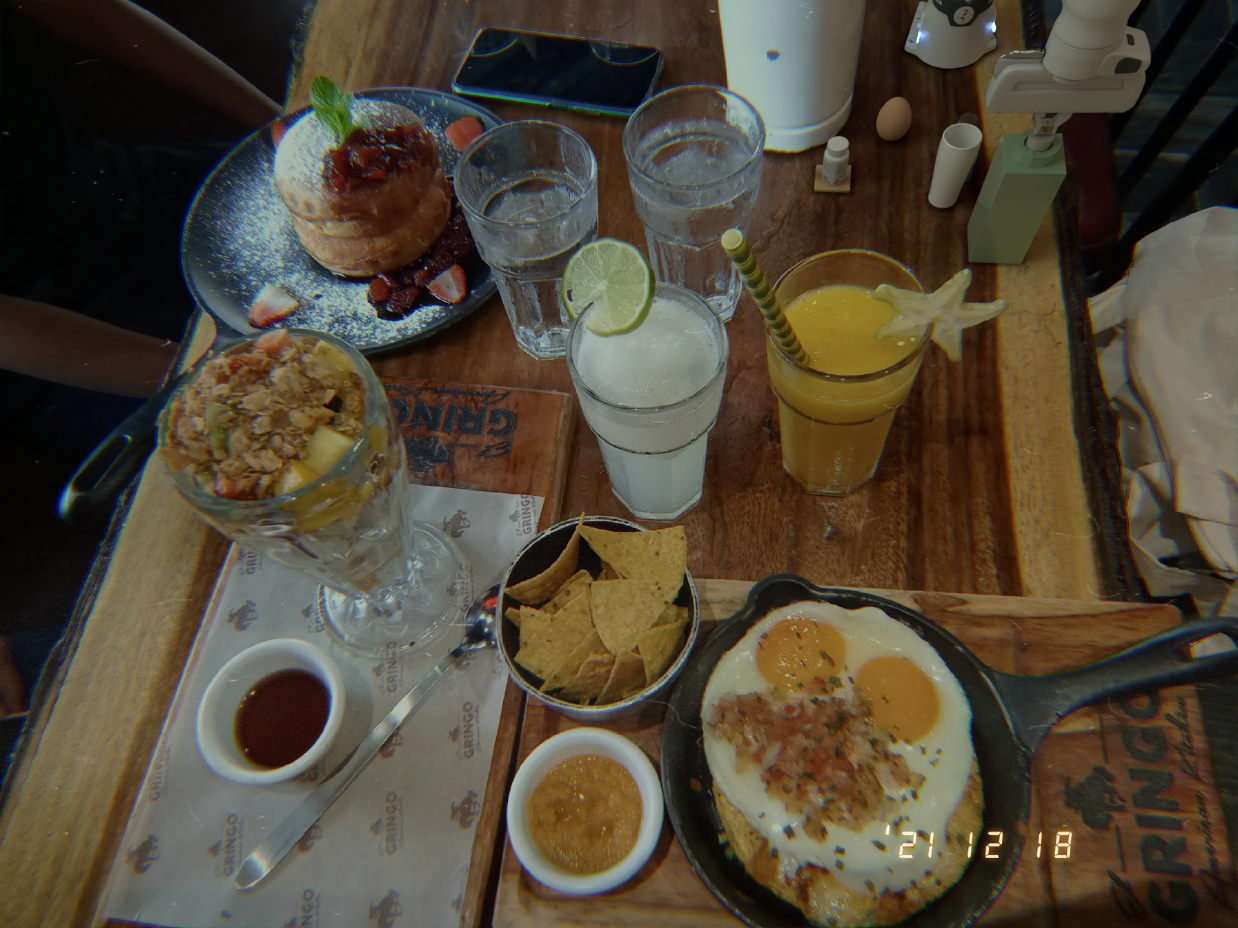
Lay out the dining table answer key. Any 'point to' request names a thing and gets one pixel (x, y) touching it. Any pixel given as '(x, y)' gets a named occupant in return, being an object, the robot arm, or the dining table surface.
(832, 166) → the pill bottle
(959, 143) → the drinking glass
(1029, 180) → the dispenser
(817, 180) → the mat
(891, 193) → the dining table surface
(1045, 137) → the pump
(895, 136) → the egg
